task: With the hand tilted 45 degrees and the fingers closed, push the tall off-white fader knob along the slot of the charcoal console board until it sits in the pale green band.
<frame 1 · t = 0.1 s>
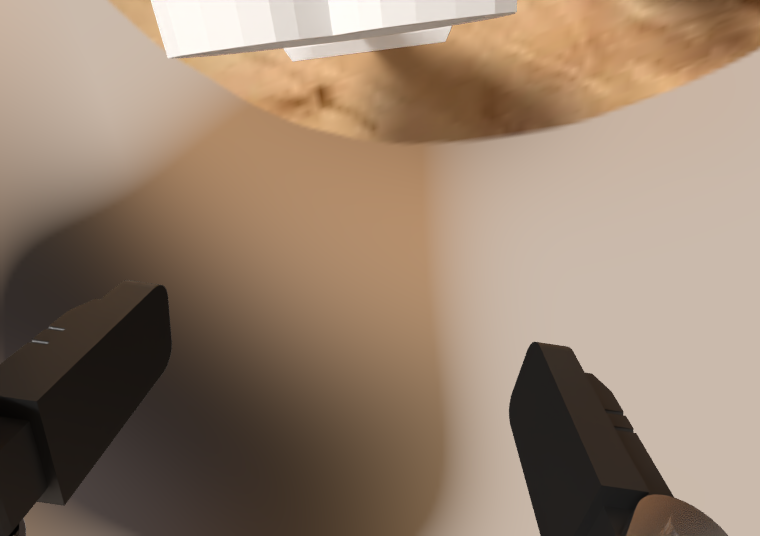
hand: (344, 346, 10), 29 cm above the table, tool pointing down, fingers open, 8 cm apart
heart sculpture: (363, 13, 33), on the table
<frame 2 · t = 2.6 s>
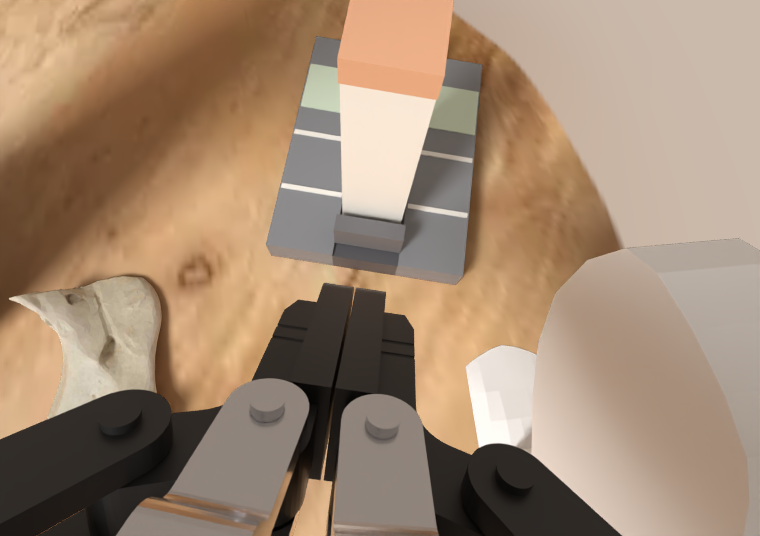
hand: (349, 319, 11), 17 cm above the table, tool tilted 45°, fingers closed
fader: (383, 137, 22), point 9 cm above the table, slide at 0.0 cm
heart sculpture: (523, 462, 26), on the table
fossil: (112, 374, 27), on the table
console: (381, 162, 31), on the table
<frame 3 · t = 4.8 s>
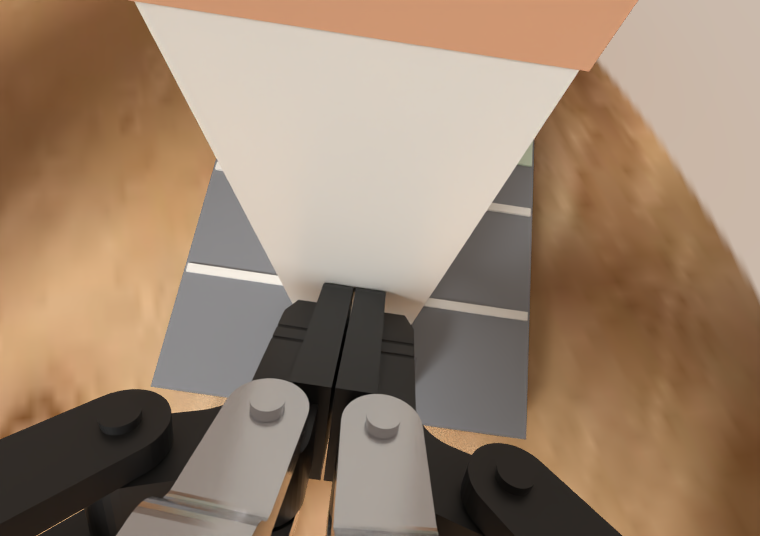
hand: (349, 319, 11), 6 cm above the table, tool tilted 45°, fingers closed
fader: (367, 180, 9), point 9 cm above the table, slide at 0.5 cm, touching gripper
console: (371, 212, 19), on the table
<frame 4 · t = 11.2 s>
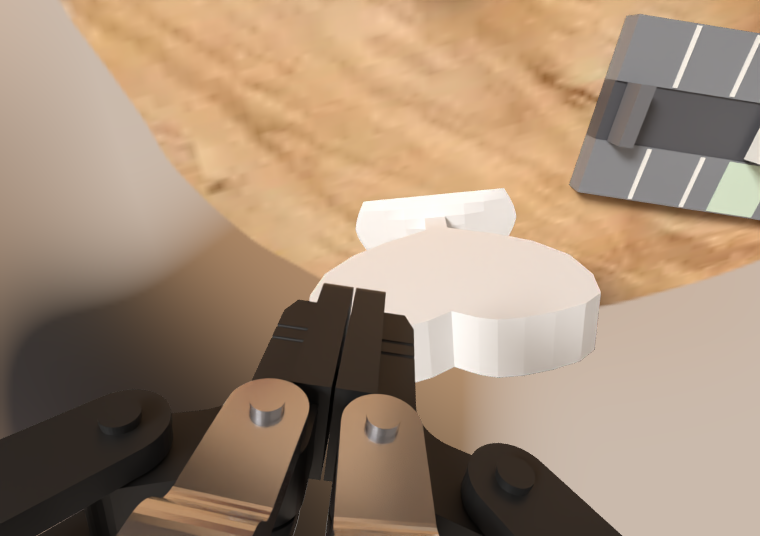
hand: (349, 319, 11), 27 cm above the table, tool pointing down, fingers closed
heart sculpture: (434, 222, 39), on the table
console: (700, 123, 34), on the table
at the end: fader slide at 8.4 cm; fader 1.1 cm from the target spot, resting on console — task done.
